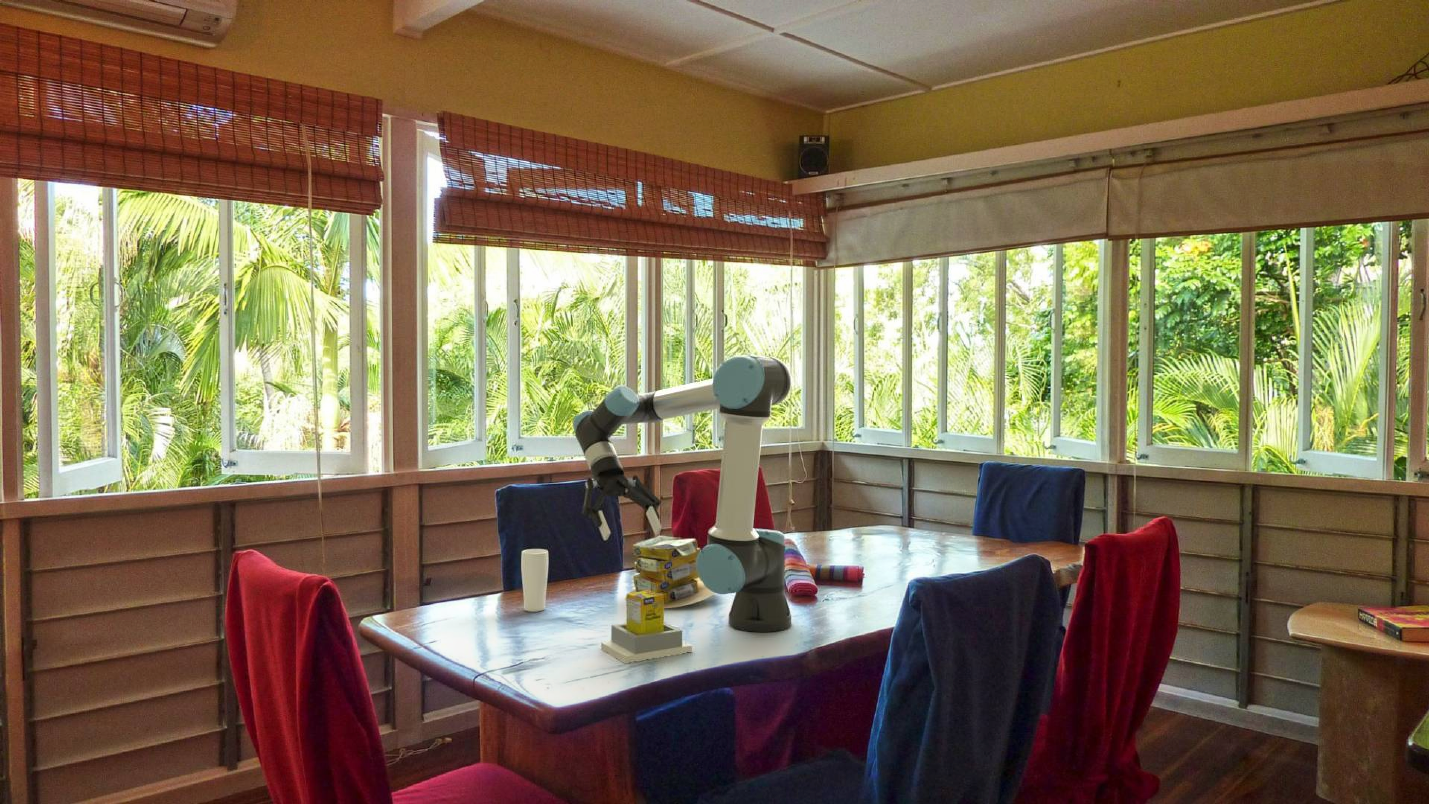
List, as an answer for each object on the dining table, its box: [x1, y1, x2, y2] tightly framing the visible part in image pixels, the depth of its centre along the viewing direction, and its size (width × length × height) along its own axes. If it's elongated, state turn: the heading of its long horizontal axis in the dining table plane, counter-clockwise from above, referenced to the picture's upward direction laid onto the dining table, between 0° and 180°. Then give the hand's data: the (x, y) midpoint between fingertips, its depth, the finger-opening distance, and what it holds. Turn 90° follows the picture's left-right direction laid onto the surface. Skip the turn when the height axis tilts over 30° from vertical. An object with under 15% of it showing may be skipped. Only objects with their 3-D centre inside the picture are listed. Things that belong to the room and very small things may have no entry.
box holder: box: [600, 621, 693, 664], centre depth 208 cm, size 16×12×5 cm
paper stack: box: [625, 535, 716, 609], centre depth 255 cm, size 25×25×17 cm
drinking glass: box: [520, 548, 549, 613], centre depth 242 cm, size 7×7×15 cm
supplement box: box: [626, 590, 665, 636], centre depth 207 cm, size 6×6×11 cm
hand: (633, 534), depth 223 cm, fingers open, 13 cm apart
